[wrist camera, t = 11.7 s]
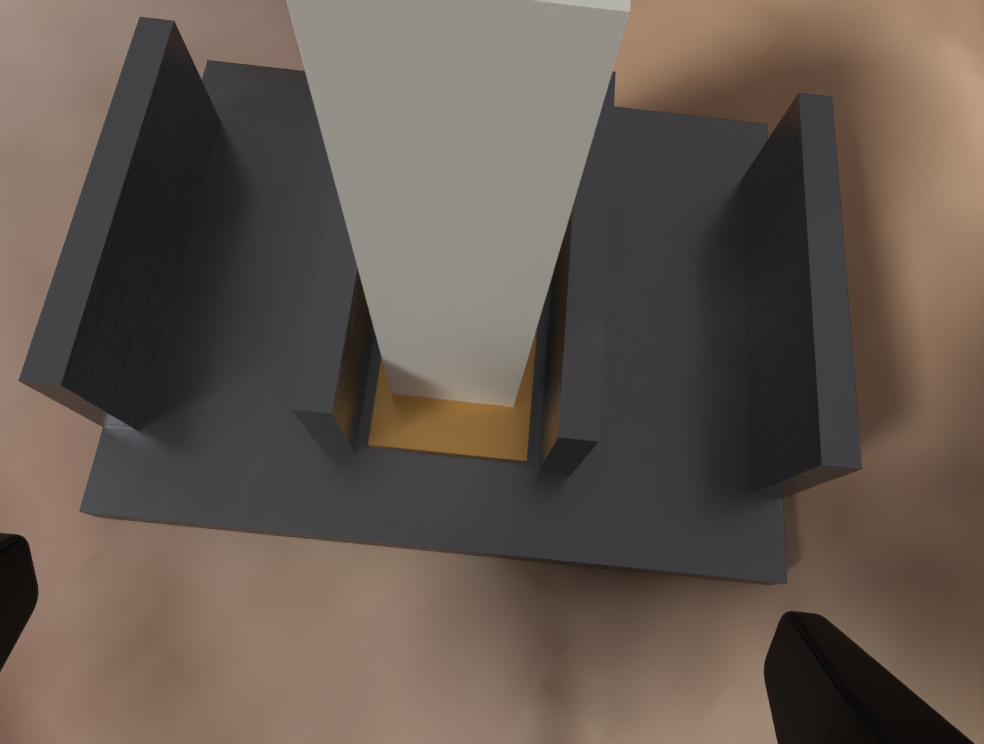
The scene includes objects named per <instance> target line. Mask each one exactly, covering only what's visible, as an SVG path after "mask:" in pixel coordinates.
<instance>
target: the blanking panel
mask: <svg viewBox="0 0 984 744" xmlns="http://www.w3.org/2000/svg"><path fill="white" fill-rule="evenodd" d="M286 2H287V6H288V10H289V13H290V17H291V21H292V25H293V28H294V32H295V36H296V40H297V43H298V47H299V51H300V54H301V58H302V62H303V66H304V69H305V73H306V77H307V81H308V84H309V88H310V92H311V96H312V99H313V103H314V107H315V110H316V114H317V118H318V122H319V125H320V129H321V133H322V137H323V140H324V144H325V148H326V152H327V155H328V159H329V163H330V166H331V170H332V174H333V178H334V181H335V185H336V189H337V193H338V196H339V200H340V204H341V208H342V211H343V215H344V219H345V222H346V226H347V230H348V234H349V237H350V241H351V245H352V249H353V252H354V256H355V260H356V264H357V267H358V271H359V275H360V278H361V282H362V286H363V290H364V293H365V297H366V301H367V305H368V308H369V312H370V316H371V320H372V323H373V327H374V331H375V335H376V338H377V342H378V346H379V349H380V353H381V357H382V361H383V364H384V368H385V372H386V376H387V379H388V383H389V387H390V391H391V394H396V395H406V396H415V397H425V398H434V399H444V400H453V401H463V402H472V403H482V404H491V405H500V406H510V407H514V404H515V400H516V397H517V393H518V390H519V387H520V383H521V380H522V376H523V373H524V370H525V366H526V363H527V360H528V356H529V353H530V349H531V346H532V343H533V339H534V336H535V332H536V329H537V326H538V322H539V319H540V315H541V312H542V309H543V305H544V302H545V299H546V295H547V292H548V288H549V285H550V282H551V278H552V275H553V271H554V268H555V265H556V261H557V258H558V254H559V251H560V248H561V244H562V241H563V237H564V234H565V231H566V227H567V224H568V221H569V217H570V214H571V210H572V207H573V204H574V200H575V197H576V193H577V190H578V187H579V183H580V180H581V176H582V173H583V170H584V166H585V163H586V160H587V156H588V153H589V149H590V146H591V143H592V139H593V136H594V132H595V129H596V126H597V122H598V119H599V115H600V112H601V109H602V105H603V102H604V98H605V95H606V92H607V88H608V85H609V82H610V78H611V75H612V71H613V68H614V65H615V61H616V58H617V54H618V51H619V48H620V44H621V41H622V37H623V34H624V31H625V27H626V24H627V21H628V17H629V14H630V0H286Z"/></svg>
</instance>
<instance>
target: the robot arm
mask: <svg viewBox="0 0 984 744" xmlns="http://www.w3.org/2000/svg"><path fill="white" fill-rule="evenodd" d="M37 599H38V584H37V579H36V575H35V570H34V565H33V561H32V556H31V552H30V547H29V544H28V542H27V540H26V539H25V538H24V537H23V536H20V535H17V534H8V533H0V671H1V670H2V668H3V666H4V664H5V662H6V660H7V659H8V657H9V655H10V653H11V651H12V649H13V648H14V646H15V644H16V642H17V640H18V638H19V637H20V635H21V633H22V631H23V629H24V627H25V626H26V624H27V622H28V620H29V618H30V616H31V615H32V613H33V611H34V609H35V606H36V603H37ZM764 679H765V685H766V690H767V694H768V699H769V704H770V709H771V714H772V718H773V723H774V728H775V733H776V738H777V742H778V744H974V743H973V742H972V741H971V740H970V739H968V738H967V737H966V736H965V735H964V734H962V733H961V732H960V731H959V730H958V729H957V728H955V727H954V726H953V725H952V724H951V723H949V722H948V721H947V720H946V719H945V718H943V717H942V716H941V715H940V714H939V713H938V712H936V711H935V710H934V709H933V708H932V707H930V706H929V705H928V704H927V703H926V702H925V701H923V700H922V699H921V698H920V697H919V696H917V695H916V694H915V693H914V692H913V691H911V690H910V689H909V688H908V687H907V686H906V685H904V684H903V683H902V682H901V681H900V680H898V679H897V678H896V677H895V676H894V675H892V674H891V673H890V672H889V671H888V670H887V669H885V668H884V667H883V666H882V665H881V664H879V663H878V662H877V661H876V660H875V659H874V658H872V657H871V656H870V655H869V654H868V653H866V652H865V651H864V650H863V649H862V648H860V647H859V646H858V645H857V644H856V643H855V642H853V641H852V640H851V639H850V638H849V637H847V636H846V635H845V634H844V633H843V632H841V631H840V630H839V629H838V628H837V627H836V626H834V625H833V624H832V623H831V622H830V621H828V620H827V619H826V618H825V617H823V616H821V615H819V614H815V613H805V612H795V611H790V612H786V613H785V614H784V615H783V616H782V617H781V619H780V621H779V623H778V626H777V629H776V632H775V634H774V637H773V640H772V642H771V645H770V648H769V651H768V653H767V656H766V659H765V664H764Z"/></svg>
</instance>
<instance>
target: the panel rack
mask: <svg viewBox="0 0 984 744" xmlns="http://www.w3.org/2000/svg"><path fill="white" fill-rule="evenodd" d="M614 93H615V72H613V71H612V75H611V78H610V82H609V85H608V88H607V92H606V95H605V98H604V102H603V105H602V109H601V112H600V115H599V119H598V122H597V126H596V129H595V132H594V136H593V139H592V143H591V146H590V149H589V153H588V156H587V160H586V163H585V166H584V170H583V173H582V176H581V180H580V183H579V187H578V190H577V193H576V197H575V200H574V204H573V207H572V210H571V214H570V217H569V221H568V224H567V227H566V231H565V234H564V237H563V241H562V244H561V248H560V251H559V254H558V258H557V261H556V265H555V268H554V271H553V275H552V278H551V282H550V285H549V288H548V292H547V295H546V299H545V302H544V305H543V309H542V312H541V315H540V319H539V322H538V326H537V329H536V332H535V336H534V339H533V343H532V346H531V349H530V353H529V356H528V360H527V363H526V366H525V370H524V373H523V376H522V380H521V383H520V387H519V390H518V393H517V397H516V400H515V404H514V407H510V406H500V405H491V404H482V403H472V402H463V401H453V400H444V399H434V398H425V397H415V396H406V395H396V394H391V391H390V387H389V383H388V379H387V376H386V372H385V368H384V364H383V361H382V357H381V353H380V349H379V346H378V342H377V338H376V335H375V331H374V327H373V323H372V320H371V316H370V312H369V308H368V305H367V301H366V297H365V293H364V290H363V286H362V282H361V278H360V275H359V271H358V267H357V264H356V260H355V256H354V252H353V249H352V245H351V241H350V237H349V234H348V230H347V226H346V222H345V219H344V215H343V211H342V208H341V204H340V200H339V196H338V193H337V189H336V185H335V181H334V178H333V174H332V170H331V166H330V163H329V159H328V155H327V152H326V148H325V144H324V140H323V137H322V133H321V129H320V125H319V122H318V118H317V114H316V110H315V107H314V103H313V99H312V96H311V92H310V88H309V84H308V81H307V77H306V73H305V71H298V70H290V69H281V68H272V67H263V66H255V65H246V64H237V63H228V62H220V61H211V60H208V61H207V64H206V68H205V71H204V75H203V78H202V80H201V78H200V75H199V73H198V71H197V69H196V67H195V65H194V63H193V60H192V58H191V56H190V54H189V52H188V50H187V47H186V45H185V43H184V41H183V39H182V37H181V35H180V32H179V30H178V28H177V26H176V24H175V22H174V21H171V20H163V19H154V18H145V17H139V20H138V23H137V26H136V29H135V32H134V35H133V38H132V41H131V44H130V47H129V50H128V53H127V56H126V59H125V62H124V65H123V69H122V72H121V75H120V78H119V81H118V84H117V87H116V90H115V93H114V96H113V99H112V102H111V105H110V108H109V111H108V114H107V117H106V120H105V123H104V126H103V129H102V132H101V135H100V138H99V141H98V144H97V147H96V150H95V153H94V156H93V159H92V162H91V165H90V168H89V171H88V174H87V177H86V180H85V183H84V186H83V189H82V192H81V195H80V198H79V201H78V204H77V207H76V210H75V213H74V216H73V219H72V222H71V225H70V228H69V231H68V234H67V237H66V240H65V243H64V246H63V249H62V252H61V255H60V258H59V261H58V264H57V267H56V270H55V273H54V276H53V279H52V282H51V285H50V288H49V291H48V294H47V297H46V300H45V303H44V306H43V309H42V312H41V315H40V318H39V321H38V324H37V327H36V330H35V333H34V336H33V339H32V342H31V345H30V348H29V351H28V354H27V357H26V360H25V363H24V366H23V369H22V372H21V375H20V378H19V381H20V382H22V383H23V384H25V385H27V386H29V387H31V388H33V389H34V390H36V391H38V392H40V393H42V394H44V395H45V396H47V397H49V398H51V399H53V400H54V401H56V402H58V403H60V404H62V405H64V406H65V407H67V408H69V409H71V410H73V411H75V412H76V413H78V414H80V415H82V416H84V417H86V418H87V419H89V420H91V421H93V422H95V423H96V424H98V425H100V426H102V427H103V430H102V434H101V437H100V441H99V444H98V448H97V451H96V455H95V458H94V462H93V465H92V469H91V472H90V476H89V479H88V483H87V486H86V490H85V493H84V497H83V500H82V504H81V507H80V511H79V512H82V513H86V514H89V515H93V516H96V517H100V518H109V519H119V520H129V521H139V522H149V523H159V524H169V525H179V526H189V527H199V528H208V529H218V530H228V531H238V532H248V533H258V534H268V535H278V536H288V537H298V538H307V539H317V540H327V541H337V542H347V543H357V544H367V545H377V546H387V547H397V548H407V549H416V550H426V551H436V552H446V553H456V554H466V555H476V556H486V557H496V558H506V559H515V560H525V561H535V562H545V563H555V564H565V565H575V566H585V567H595V568H605V569H614V570H624V571H634V572H644V573H654V574H664V575H674V576H684V577H694V578H704V579H714V580H723V581H733V582H743V583H753V584H763V585H774V584H784V583H787V575H786V552H785V529H784V505H783V498H784V497H786V496H789V495H792V494H795V493H797V492H800V491H803V490H806V489H808V488H811V487H814V486H817V485H819V484H822V483H825V482H828V481H831V480H833V479H836V478H839V477H842V476H844V475H847V474H850V473H853V472H855V471H858V470H861V469H862V462H861V450H860V437H859V425H858V413H857V400H856V388H855V376H854V363H853V351H852V338H851V326H850V314H849V301H848V289H847V277H846V264H845V252H844V240H843V227H842V215H841V202H840V190H839V178H838V165H837V153H836V141H835V128H834V116H833V104H832V97H830V96H821V95H813V94H804V93H798V95H797V96H796V98H795V99H794V101H793V102H792V104H791V105H790V107H789V108H788V110H787V112H786V113H785V115H784V116H783V118H782V119H781V121H780V122H779V124H778V125H777V127H776V128H775V130H774V131H773V133H772V134H771V136H770V137H769V139H768V132H767V124H762V123H753V122H744V121H735V120H727V119H718V118H709V117H700V116H692V115H683V114H674V113H665V112H657V111H648V110H639V109H630V108H622V107H614Z"/></svg>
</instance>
